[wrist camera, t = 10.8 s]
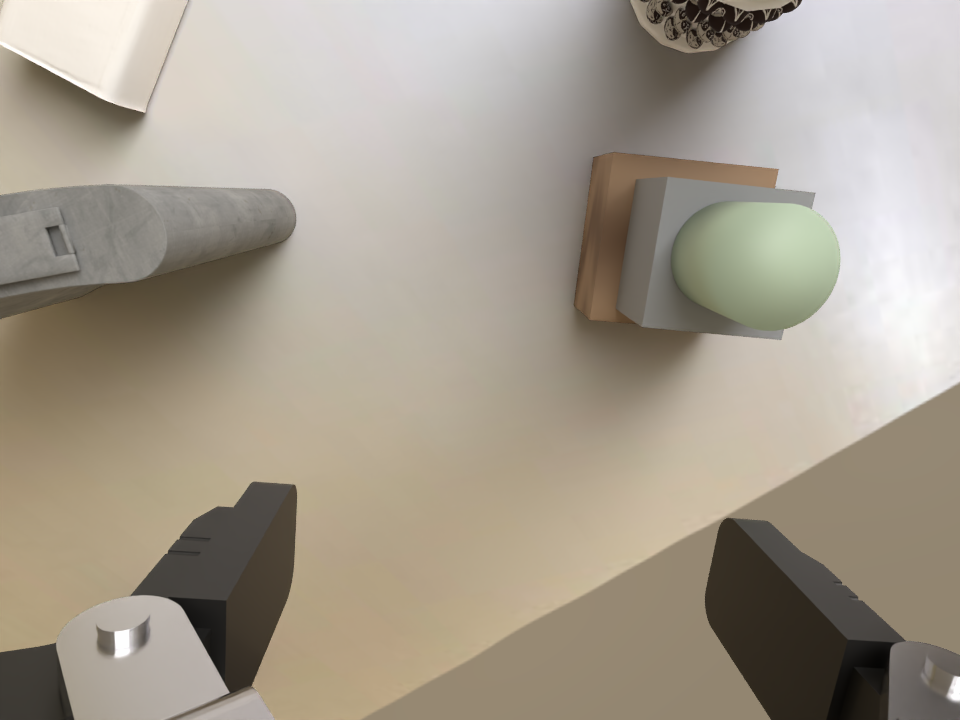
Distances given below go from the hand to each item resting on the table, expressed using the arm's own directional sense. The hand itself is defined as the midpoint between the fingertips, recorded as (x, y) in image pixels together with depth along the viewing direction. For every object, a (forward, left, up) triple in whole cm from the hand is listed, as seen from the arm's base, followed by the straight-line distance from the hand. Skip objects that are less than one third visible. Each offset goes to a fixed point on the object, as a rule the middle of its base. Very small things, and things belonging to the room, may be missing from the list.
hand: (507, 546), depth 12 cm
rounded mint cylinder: (+4, -11, -19) cm, 22 cm away
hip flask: (+2, +18, -29) cm, 34 cm away
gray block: (+4, -12, -24) cm, 27 cm away
